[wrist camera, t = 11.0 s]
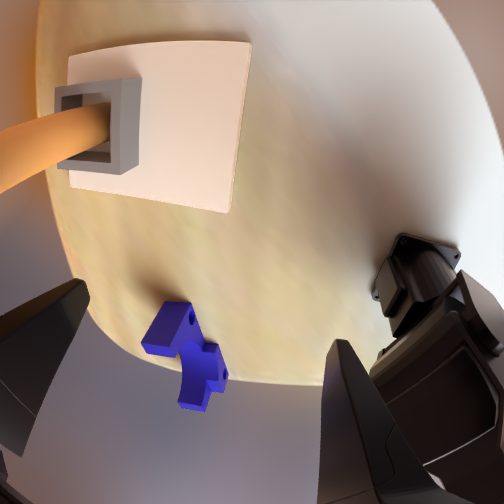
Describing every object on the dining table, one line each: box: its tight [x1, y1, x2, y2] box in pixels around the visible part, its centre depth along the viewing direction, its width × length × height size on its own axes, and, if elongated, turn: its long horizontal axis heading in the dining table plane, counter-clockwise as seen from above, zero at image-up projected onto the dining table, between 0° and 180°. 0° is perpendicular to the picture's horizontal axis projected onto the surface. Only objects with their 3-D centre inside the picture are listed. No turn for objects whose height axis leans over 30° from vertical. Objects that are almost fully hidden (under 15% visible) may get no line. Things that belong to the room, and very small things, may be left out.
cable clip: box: [141, 301, 229, 412], centre depth 28 cm, size 12×4×6 cm, turn 8°
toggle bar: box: [0, 102, 111, 194], centre depth 13 cm, size 3×3×12 cm
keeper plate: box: [55, 40, 253, 214], centre depth 17 cm, size 15×12×4 cm
